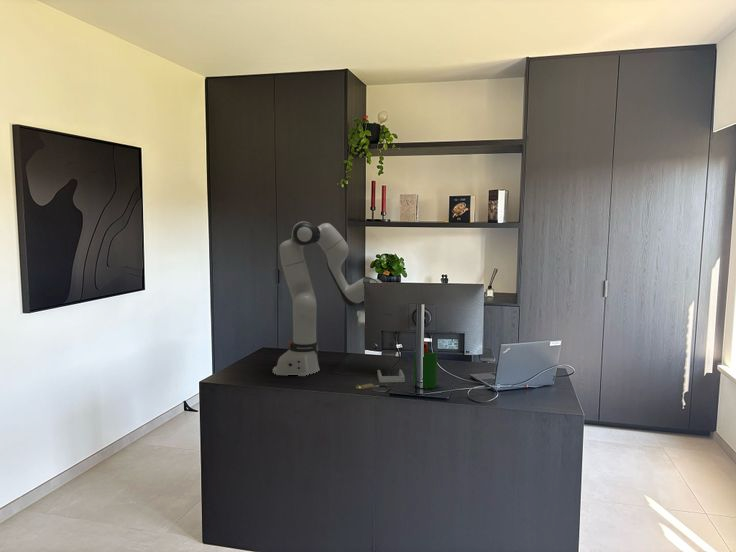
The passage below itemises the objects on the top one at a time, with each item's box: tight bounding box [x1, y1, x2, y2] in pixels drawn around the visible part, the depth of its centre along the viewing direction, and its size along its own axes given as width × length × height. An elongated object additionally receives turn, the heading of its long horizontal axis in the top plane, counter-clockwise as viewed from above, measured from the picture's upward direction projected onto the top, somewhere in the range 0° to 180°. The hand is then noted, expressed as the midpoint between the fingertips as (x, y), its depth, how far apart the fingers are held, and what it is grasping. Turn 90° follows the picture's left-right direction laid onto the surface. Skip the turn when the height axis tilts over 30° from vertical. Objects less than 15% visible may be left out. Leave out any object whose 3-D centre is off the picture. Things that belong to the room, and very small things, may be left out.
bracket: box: [376, 369, 406, 384], centre depth 244 cm, size 11×11×2 cm
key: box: [355, 383, 375, 390], centre depth 232 cm, size 8×3×1 cm, turn 119°
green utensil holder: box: [413, 342, 439, 390], centre depth 233 cm, size 10×9×20 cm
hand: (380, 333), depth 248 cm, fingers closed on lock, 5 cm apart
